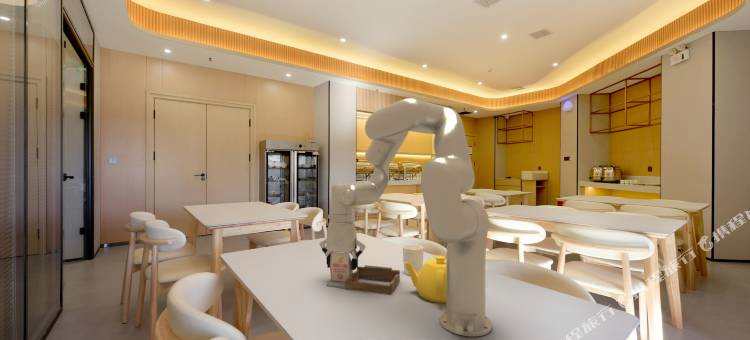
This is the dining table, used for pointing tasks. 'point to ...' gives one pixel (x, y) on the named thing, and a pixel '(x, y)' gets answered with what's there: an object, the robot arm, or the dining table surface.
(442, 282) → the teapot
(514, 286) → the dining table surface
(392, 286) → the brown wooden tray
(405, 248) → the white cup
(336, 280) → the tea bag
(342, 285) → the rubber pad
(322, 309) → the dining table surface
